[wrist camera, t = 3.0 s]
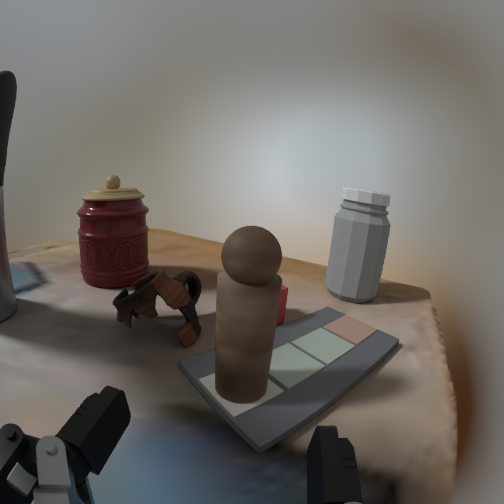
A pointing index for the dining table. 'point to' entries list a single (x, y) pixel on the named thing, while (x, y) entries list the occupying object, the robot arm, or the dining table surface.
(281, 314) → the red die
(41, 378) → the dining table surface
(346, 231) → the jar
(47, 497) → the robot arm
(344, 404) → the dining table surface
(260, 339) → the walnut pawn
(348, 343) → the game board
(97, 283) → the canister
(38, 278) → the dining table surface
